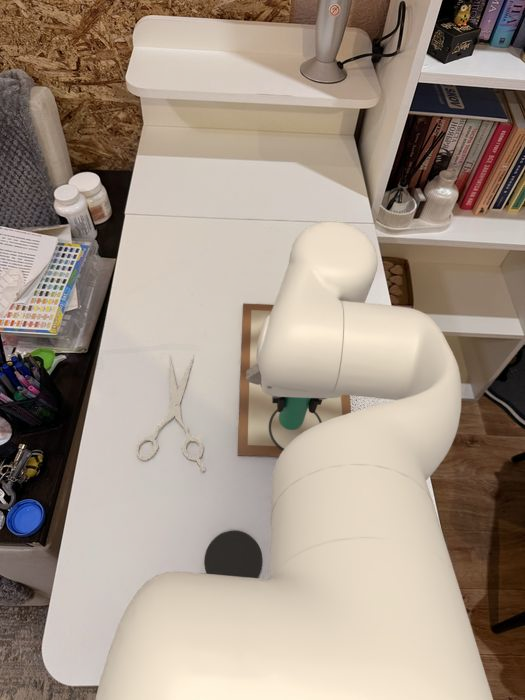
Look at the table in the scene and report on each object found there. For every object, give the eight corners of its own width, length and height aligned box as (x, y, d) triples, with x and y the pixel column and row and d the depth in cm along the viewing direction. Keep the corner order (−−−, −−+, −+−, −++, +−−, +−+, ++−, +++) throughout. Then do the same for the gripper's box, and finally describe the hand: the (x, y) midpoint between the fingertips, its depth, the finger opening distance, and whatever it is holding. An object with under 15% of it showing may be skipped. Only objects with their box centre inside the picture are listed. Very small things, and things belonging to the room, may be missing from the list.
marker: (303, 433, 73) (315, 397, 63) (278, 432, 73) (286, 396, 63) (302, 410, 75) (314, 371, 65) (277, 409, 75) (285, 370, 64)
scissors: (133, 469, 76) (149, 351, 85) (134, 470, 76) (150, 353, 86) (205, 471, 76) (213, 353, 86) (205, 472, 77) (213, 356, 86)
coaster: (261, 593, 69) (262, 593, 69) (202, 592, 69) (202, 592, 68) (262, 531, 73) (262, 530, 73) (206, 530, 73) (206, 529, 72)
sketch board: (353, 459, 79) (355, 457, 78) (237, 456, 78) (237, 454, 77) (341, 309, 93) (342, 306, 92) (243, 305, 92) (243, 302, 91)
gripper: (233, 356, 50) (232, 426, 66) (399, 362, 51) (359, 430, 67) (236, 294, 54) (234, 375, 70) (390, 301, 55) (354, 379, 71)
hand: (295, 401), depth 68 cm, fingers closed on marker, 3 cm apart
